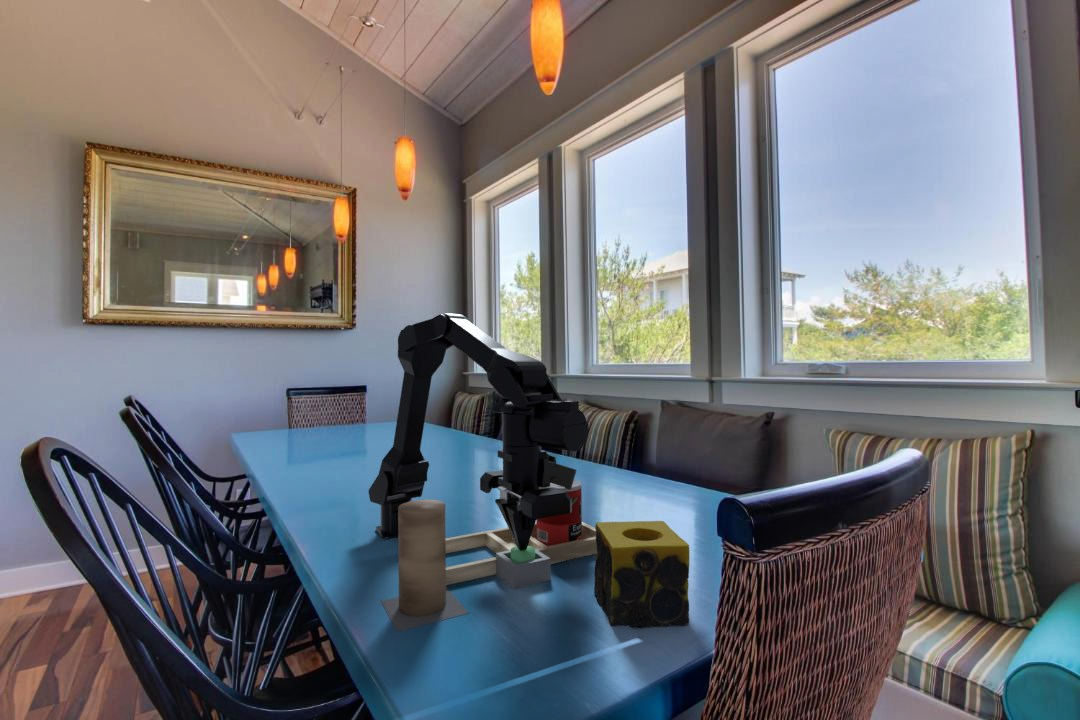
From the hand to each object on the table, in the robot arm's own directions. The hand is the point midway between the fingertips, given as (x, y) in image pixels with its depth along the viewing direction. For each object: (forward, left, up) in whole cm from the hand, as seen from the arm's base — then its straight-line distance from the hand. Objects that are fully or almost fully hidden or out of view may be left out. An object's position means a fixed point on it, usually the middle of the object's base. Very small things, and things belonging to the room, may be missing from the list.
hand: (522, 549), depth 76 cm
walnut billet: (+2, -15, -4) cm, 16 cm away
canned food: (-9, +12, -5) cm, 16 cm away
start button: (0, 0, -3) cm, 3 cm away
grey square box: (0, 0, -4) cm, 4 cm away
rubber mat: (+2, -15, -4) cm, 16 cm away
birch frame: (-9, +4, -4) cm, 11 cm away
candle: (+16, +9, -5) cm, 19 cm away
